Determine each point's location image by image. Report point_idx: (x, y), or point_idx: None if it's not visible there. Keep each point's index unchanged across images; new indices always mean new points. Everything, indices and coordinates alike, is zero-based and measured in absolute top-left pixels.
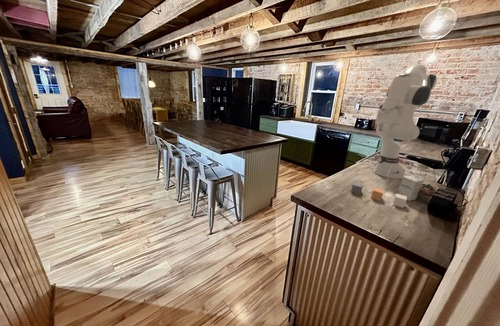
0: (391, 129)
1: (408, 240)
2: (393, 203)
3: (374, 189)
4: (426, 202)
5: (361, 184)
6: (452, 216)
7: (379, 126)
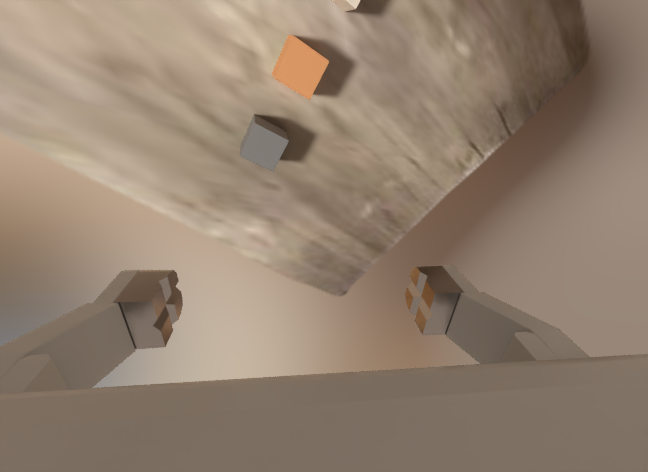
0: (492, 306)
1: (515, 92)
2: (346, 10)
3: (297, 87)
4: None
5: (257, 131)
6: None
7: (91, 379)
